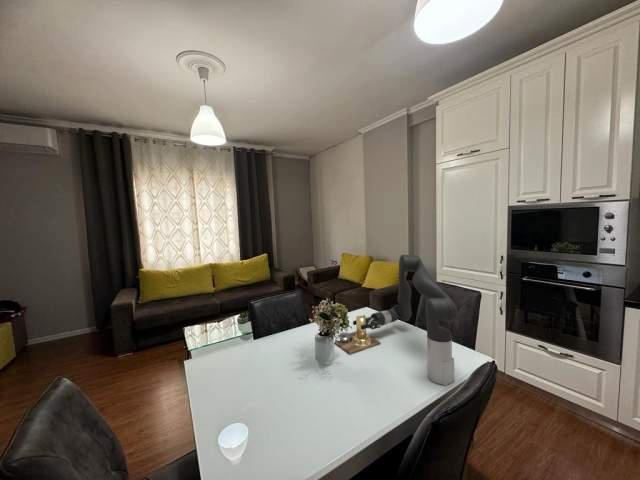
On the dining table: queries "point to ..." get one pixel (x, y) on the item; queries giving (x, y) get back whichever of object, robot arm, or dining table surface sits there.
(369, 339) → the cylinder
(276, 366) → the dining table surface
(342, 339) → the gear
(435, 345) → the robot arm
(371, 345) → the gear board
